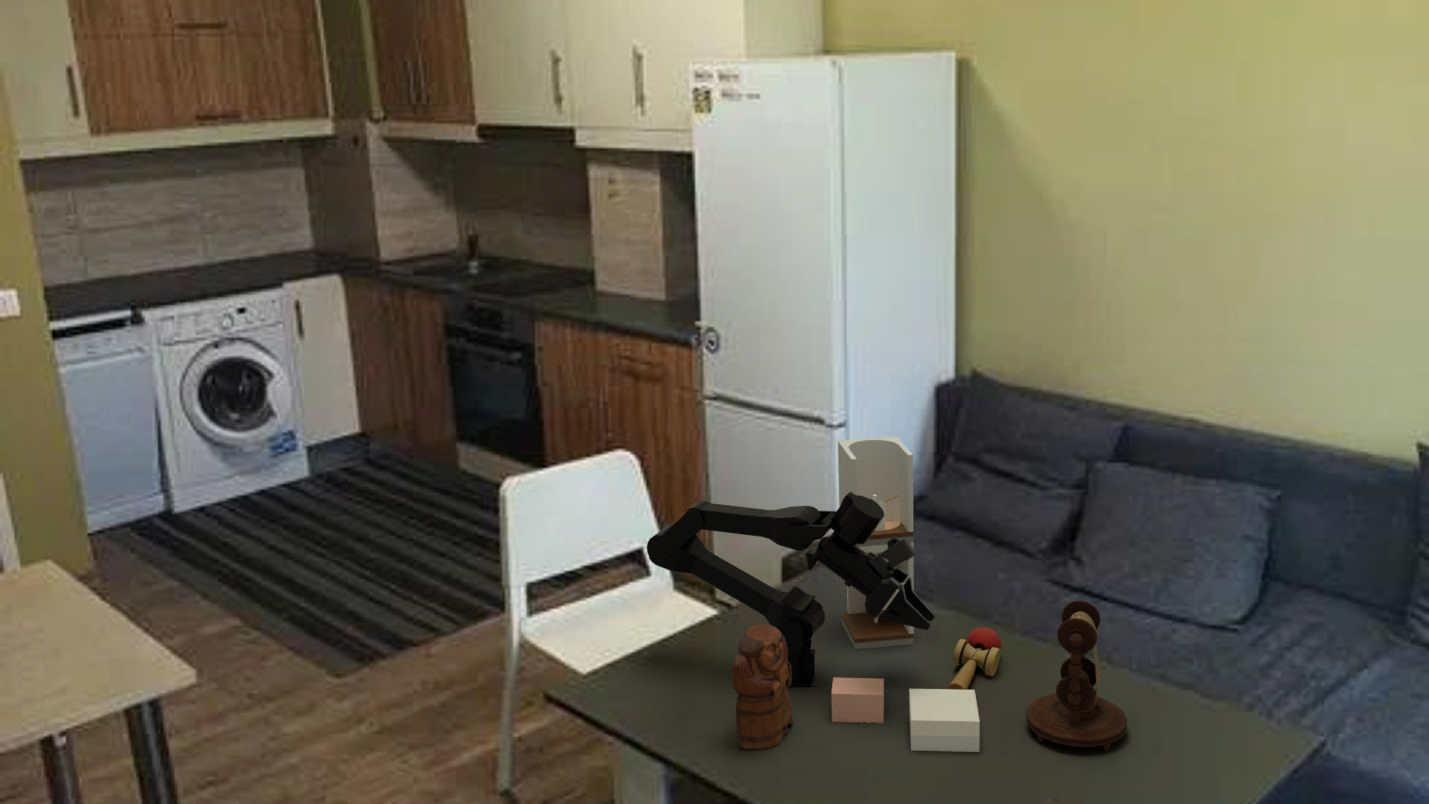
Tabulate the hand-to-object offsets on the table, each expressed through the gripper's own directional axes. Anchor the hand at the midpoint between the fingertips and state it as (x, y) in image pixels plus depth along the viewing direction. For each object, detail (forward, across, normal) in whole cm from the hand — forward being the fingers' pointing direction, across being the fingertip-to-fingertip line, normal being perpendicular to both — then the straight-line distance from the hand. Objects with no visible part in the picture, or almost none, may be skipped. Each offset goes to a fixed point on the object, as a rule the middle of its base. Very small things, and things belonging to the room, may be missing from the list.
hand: (931, 623), depth 204 cm
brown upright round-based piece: (+27, -2, 0) cm, 27 cm away
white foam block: (+11, -7, +12) cm, 17 cm away
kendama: (+11, +13, +5) cm, 18 cm away
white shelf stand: (-6, +27, +12) cm, 30 cm away
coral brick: (-1, -2, +18) cm, 19 cm away
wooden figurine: (-10, -11, +28) cm, 31 cm away
